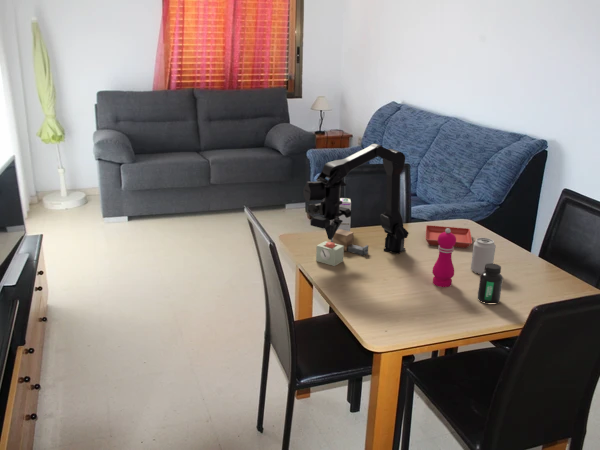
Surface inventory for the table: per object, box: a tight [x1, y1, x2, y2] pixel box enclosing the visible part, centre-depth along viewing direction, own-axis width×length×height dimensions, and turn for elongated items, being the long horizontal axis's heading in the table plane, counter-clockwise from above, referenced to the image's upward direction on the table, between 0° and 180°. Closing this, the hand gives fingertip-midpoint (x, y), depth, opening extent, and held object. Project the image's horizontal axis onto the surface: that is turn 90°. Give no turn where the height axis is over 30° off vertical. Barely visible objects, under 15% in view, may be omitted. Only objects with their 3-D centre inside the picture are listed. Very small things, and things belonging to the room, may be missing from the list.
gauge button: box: [326, 241, 335, 248], centre depth 218 cm, size 3×3×4 cm
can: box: [470, 237, 496, 275], centre depth 212 cm, size 8×8×12 cm
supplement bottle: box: [477, 262, 504, 304], centre depth 190 cm, size 7×7×12 cm
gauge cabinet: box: [315, 240, 345, 267], centre depth 218 cm, size 8×6×6 cm
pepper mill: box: [431, 228, 456, 288], centre depth 200 cm, size 7×7×20 cm
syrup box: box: [337, 197, 352, 232], centre depth 246 cm, size 6×6×14 cm
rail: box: [330, 238, 369, 257], centre depth 230 cm, size 15×3×3 cm, turn 55°
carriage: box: [333, 229, 354, 252], centre depth 231 cm, size 6×5×6 cm
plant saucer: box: [424, 225, 473, 249], centre depth 243 cm, size 18×18×3 cm
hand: (330, 239), depth 217 cm, fingers closed
